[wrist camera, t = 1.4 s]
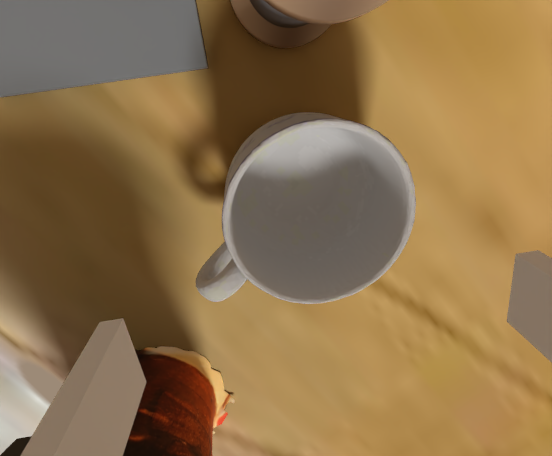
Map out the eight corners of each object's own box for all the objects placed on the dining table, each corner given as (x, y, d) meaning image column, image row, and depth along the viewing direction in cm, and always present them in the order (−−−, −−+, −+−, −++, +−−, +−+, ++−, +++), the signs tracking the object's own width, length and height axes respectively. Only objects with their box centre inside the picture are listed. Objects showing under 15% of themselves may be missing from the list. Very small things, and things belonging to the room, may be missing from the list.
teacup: (340, 78, 24) (385, 78, 17) (389, 214, 28) (442, 262, 21) (157, 169, 25) (124, 207, 18) (230, 287, 29) (228, 357, 22)
